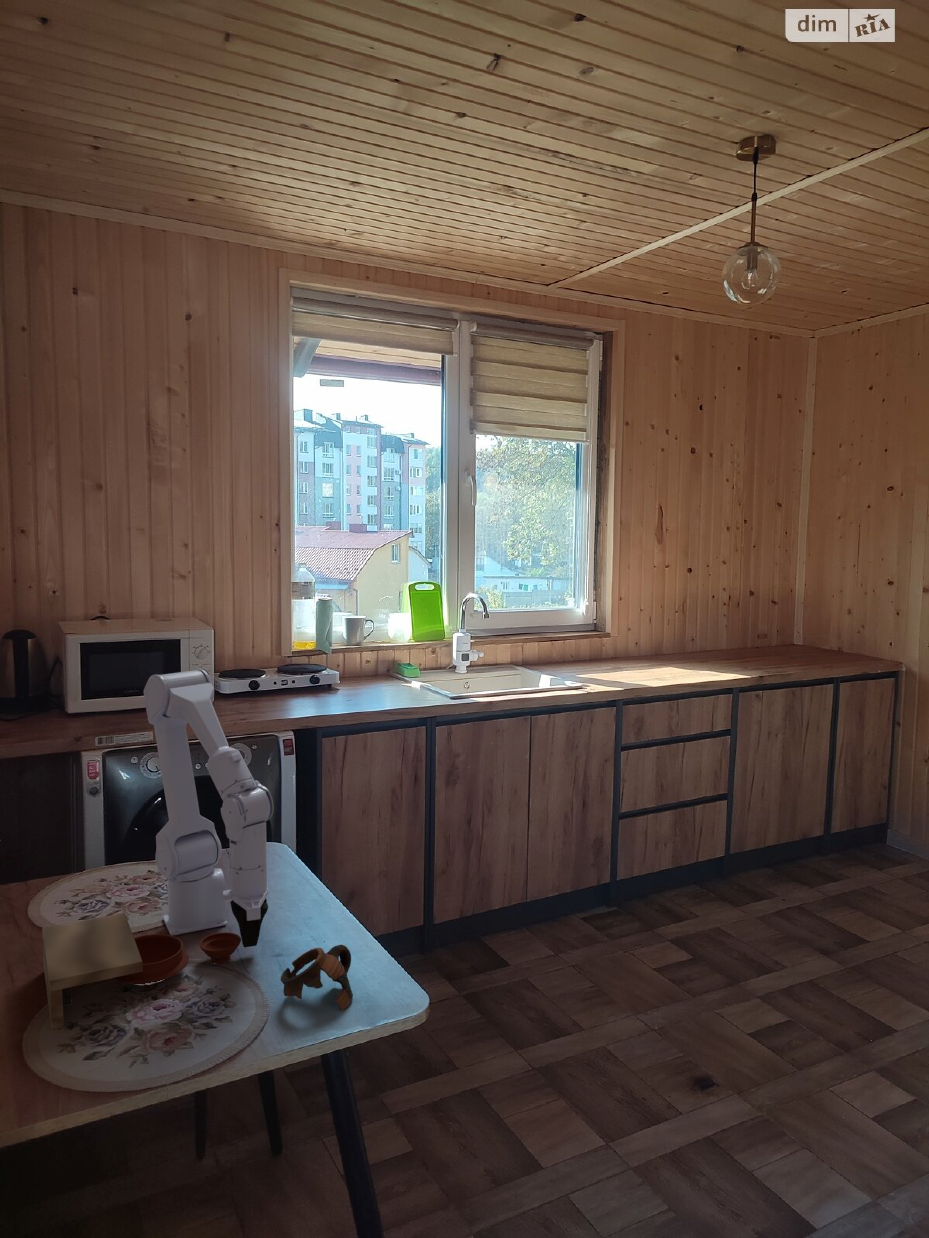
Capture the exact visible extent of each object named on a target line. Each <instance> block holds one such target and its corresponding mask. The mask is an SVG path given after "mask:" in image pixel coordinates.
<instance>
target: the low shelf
mask: <svg viewBox="0 0 929 1238" xmlns="http://www.w3.org/2000/svg"><path fill="white" fill-rule="evenodd" d="M41 932H42V933H41V934H42V956H43V975H44V980H45V981H44V982H45V988H46V989H45V990H46V999H47V1005H48V1013H49V1019H50V1027H51V1030H57V1029H61V1028H63V1027H65V1026H64V1008H63V1007H65V1006H70V1005H72V1004H73V1001H72V1000H73V999H72V987H77V986H83V985H86V984H91V983H96V982H100V981H105V980H109V979H112V978H115V977H120V976H124V975H129V974H133V973H138V972H143V967H142V959H141V956H140V954H139V951H138V948H137V945H136V943H135V940H134V938H135V937H134V934H133V932H132V929H131V926H130V924H129V921H128V918H127V916H126V913H125V912H121V913H117V914H112V915H106V916H102V917H96V918H91V919H85V920H80V921H75V922H69V923H63V924H58V925H54V926H47V927H42V928H41Z"/></svg>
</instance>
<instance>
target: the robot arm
mask: <svg viewBox="0 0 929 1238" xmlns="http://www.w3.org/2000/svg"><path fill="white" fill-rule="evenodd" d="M143 696H144V705H145V709H146V710H145V711H146V715H147V721H148V723H149V724H151V725H153V727H154V734H155V741H156V745H157V746H156V747H157V752H158V753H157V754H158V759H159V766H160V772H161V773H160V774H161V777H162V784H163V791H164V798H165V803H166V804H165V805H166V810H167V816H168V821H167V822H166V824H165V825H163V827H162V828H161V829H160V831H159V832H157V834H156V836H155V841H156V842H155V844H156V846H155V847H156V851H155V855H154V856H155V858H154V859H155V863H156V868H157V870H158V872H159V874H160V875H162V876H163V877H164V878H165V879H166V880H167V903H168V904H167V906H168V907H167V908H168V909H167V910H168V914H164V915H163V916H162V919H163V922H164V924H165V927H166V928H167V930H168V932H169V935H171V936H178V935H183V934H188V933H192V932H197V931H198V932H199V931H202V930H208V929H213V928H217V927H222V926H226V925H228V921H227V900H230V902H229V903H230V907H231V911H232V915H233V916H234V919H235V920H236V921H237V925H238V928H239V934H240V938H241V943H242V946H243V948H250V947H255V946H257V945H258V944H259V943H258V942H259V937H260V933H261V927H262V923H263V920H264V918H265V915H266V914H267V912H268V909H269V905H268V901H267V897H268V895H269V887H268V867H267V865H268V863H267V857H268V856H267V854H268V853H267V821H270V820H271V818H272V817H273V814H274V810H275V809H274V808H275V807H274V806H275V805H274V800H273V796H272V794H271V792H270V790H269V789H268V788H267V787H266V786H264V785H263V784H261V783H260V781H258V780H255V778H254V777H253V774H252V773H251V772H250V769H249V768H248V765H247V764H246V761H245V759H244V758H243V756H242V754H241V751H239V750H238V749H237V748H233V747H230V746H229V743H228V740H227V737H226V736H225V732H224V731H223V727H222V725H221V723H220V720H219V717H218V715H217V713H216V711H215V708H214V705H213V702H214V697H215V687H214V686H213V681H212V678H211V677H210V675H209V674H208V673H207V671H206V670H204V669H203V668H196V669H194V670H188V671H187V670H186V671H179V672H172V673H165V674H164V673H163V674H152V675H150V676H149V678H148V680H147V682H146V684H145V686H144V688H143ZM187 724H188V725H189V726H190V728H191V729H192V731H193V733H194V734H195V736H196V738H197V739H198V741H199V742H200V744H201V745H202V747H203V749H204V751H205V752H206V754H207V755H208V760H207V763H206V770H207V771H208V773H209V776H210V778H211V780H212V782H213V783H214V786H215V788H216V790H217V792H218V794H219V796H220V798H221V800H222V801H223V802H222V806H221V807H220V814H221V818H222V821H223V823H224V827H225V835H226V838H227V839H229V876H230V877H229V882H230V885H229V886H230V889H226V880H225V875H224V872H223V869H222V868H219V867H218V868H216V867H215V866H216V865H217V864H219V862H220V860H221V856H222V843H221V841H220V838H219V836H218V835H217V831H216V829H215V823H214V821H213V822H212V821H211V820H209V819H208V818H206V817H204V816H202V815H201V814H200V806H199V801H198V794H197V789H196V781H195V776H194V770H193V764H192V758H191V752H190V751H191V750H190V746H189V739H188V733H187Z"/></svg>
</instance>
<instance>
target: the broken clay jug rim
mask: <svg viewBox="0 0 929 1238" xmlns="http://www.w3.org/2000/svg"><path fill="white" fill-rule="evenodd" d="M310 963H311V964H310ZM309 964H310V965H309ZM351 964H352V954H351V951H350V950H349V948H348V947H347V946H346V945H344V944H338V945H335V946H333V947H331V948H330V949H329V950H328V951H326V952H325V951H324V949H323V948H322V947H316V948H311V949H310V950H308V951H306V952H305V953H303V954H301V955H300V956H298V957H297V958H295V959H294V960H293V961H292V962H291V966H293V969H292V971H291V969H290V968H289V967H287V968H286V969H285V970H284V971H283V972H282V974H281V976H280V982H281V983H282V984H283V990H282V991H283V995H284V997H296V998H298V999H299V1000H302V998H303V997H302V995H303V994H302V993H303V988H304V986H305V987H307V988H312V989H316V990H317V989H321V988H323V986H324V984H323V982H322V981H321V980H322V979H321V978H322V977H321V976H322V975H321V974H322V973H321V972H324V973H325V974H326V975H327V977H328V978H329V979H331V981H332V982H333V983H335V982H336V983H339V984H340V986H341V991H340V992H339V993H338V995H337V996H336V997H335V999H334V1000H335V1002H336V1004H337V1005H338V1008H339V1010H343V1009H344V1010H345V1009H346V1008H347V1007H348V1006H349V1005H350V1003H351V1001H352V999H353V997H354V993H353V991H352V988H351V983H350V981H349V978H348V977H349V976H348V972H349V971H350V968H351ZM306 965H309V966H308V967H307V968H305V969H304V970H303V971H301V972H300V970H302V969H303V968H304V967H305V966H306ZM299 972H300V973H299ZM297 973H298V974H297ZM344 1010H343V1011H344Z"/></svg>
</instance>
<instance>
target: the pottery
mask: <svg viewBox="0 0 929 1238" xmlns="http://www.w3.org/2000/svg"><path fill="white" fill-rule="evenodd" d="M134 940H135V943H136V945H137V948H138V951H139V954H140V956H141V959H142V967H143V972H138V973H133V974H129V975H124V976H120V977H115V978H111V979H113V980H114V981H116V982H119V983H123V984H131V985H133V984H145V983H151V982H157V981H160V980H163V979H165V980H166V979H168V978H170V977H173V976H175V975H178V973H180V972H181V971H183V970H184V969H185V968H186V967H187V965H188V964H189V961H190V957H189V954H188V953H187V951H185V950H184V943H183V941H182V939H180V938H178V937H176V935H173V936H172V935H170V934H163V933H156V934H155V933H154V934H147V935H142V936H137V937H134ZM241 943H242V939H241V935H239V934H237V933H234V932H226V931H224V932H223V931H222V932H217V933H212V934H208V935H206V936H204V937H203V938H202V939H201V940H200V941H199V948H200V949H201V950H202V952H203V953H204V954H205V955H206V956H207V957H209V958H210V962H211V963H212V964H214V963H215V964H214V965H223V964H226V963H229V961H231V955H233V954H234V953H235V951H236V950H237V949H238V947H239V946H240V944H241Z"/></svg>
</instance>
